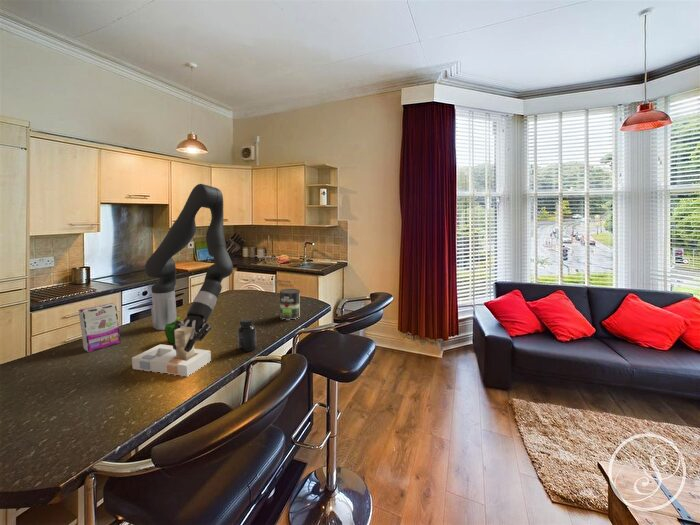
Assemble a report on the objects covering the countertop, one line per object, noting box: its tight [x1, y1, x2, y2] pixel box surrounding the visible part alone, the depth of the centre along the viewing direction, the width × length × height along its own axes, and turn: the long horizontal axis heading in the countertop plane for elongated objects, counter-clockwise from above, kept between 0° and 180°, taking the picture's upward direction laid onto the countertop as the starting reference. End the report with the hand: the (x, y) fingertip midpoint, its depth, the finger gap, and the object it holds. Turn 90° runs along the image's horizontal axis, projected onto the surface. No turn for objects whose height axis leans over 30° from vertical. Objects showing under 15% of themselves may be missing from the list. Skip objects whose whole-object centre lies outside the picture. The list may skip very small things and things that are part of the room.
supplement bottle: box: [237, 317, 258, 353], centre depth 127 cm, size 7×7×12 cm
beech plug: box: [174, 326, 195, 361], centre depth 111 cm, size 4×4×12 cm
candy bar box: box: [78, 302, 121, 353], centre depth 127 cm, size 11×5×16 cm, turn 148°
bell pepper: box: [164, 316, 184, 344], centre depth 133 cm, size 8×8×10 cm
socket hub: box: [131, 344, 212, 378], centre depth 113 cm, size 22×12×4 cm, turn 77°
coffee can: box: [279, 288, 301, 321], centre depth 166 cm, size 10×10×14 cm
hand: (180, 350), depth 109 cm, fingers closed on beech plug, 4 cm apart
